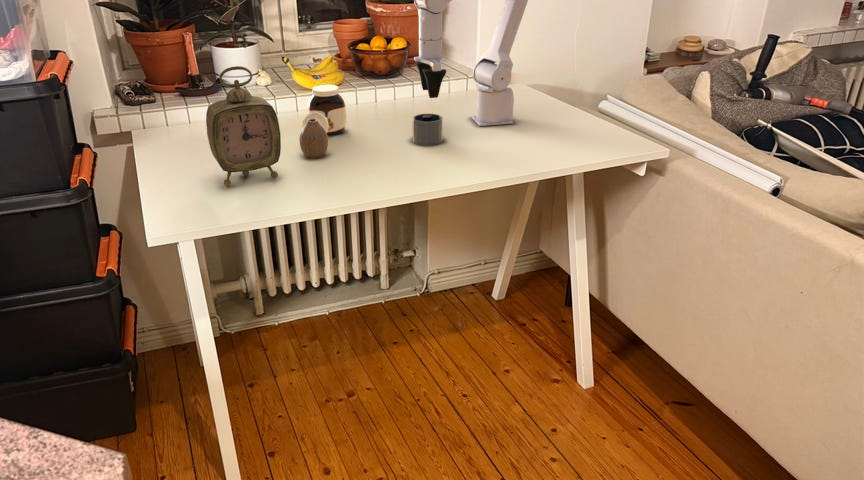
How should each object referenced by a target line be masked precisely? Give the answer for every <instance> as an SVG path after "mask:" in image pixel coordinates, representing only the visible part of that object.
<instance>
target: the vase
mask: <svg viewBox="0 0 864 480" xmlns="http://www.w3.org/2000/svg"><path fill="white" fill-rule="evenodd" d="M298 142H299V147H300V151H302V153H303V155H305V156H306V157H307V158H310V159H316V158H321V157H323V156H324V155H325V154H326V152H327V150H328V148H329V136H327V133H326V131H325V130H324V128H323V127H322V126H321V125H320V124H319V122H318V120H317V119H309V120H307V123H306V125H305V126H304V128H302V130H301V131H300V133H299V141H298Z"/></svg>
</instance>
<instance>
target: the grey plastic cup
mask: <svg viewBox="0 0 864 480" xmlns="http://www.w3.org/2000/svg"><path fill="white" fill-rule="evenodd" d="M424 115H432V122H423V116H424ZM443 122H444V118H443V116H442V115H440V114H436V113H420V114H416V115H414V116H413V117H412V143H413V144H416V145H419V146H424V147H426V146H427V147H428V146H429V147H430V146H436V145H439V144H441V143H442V142H443V130H444V129H443V128H444V127H443V124H444V123H443Z"/></svg>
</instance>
